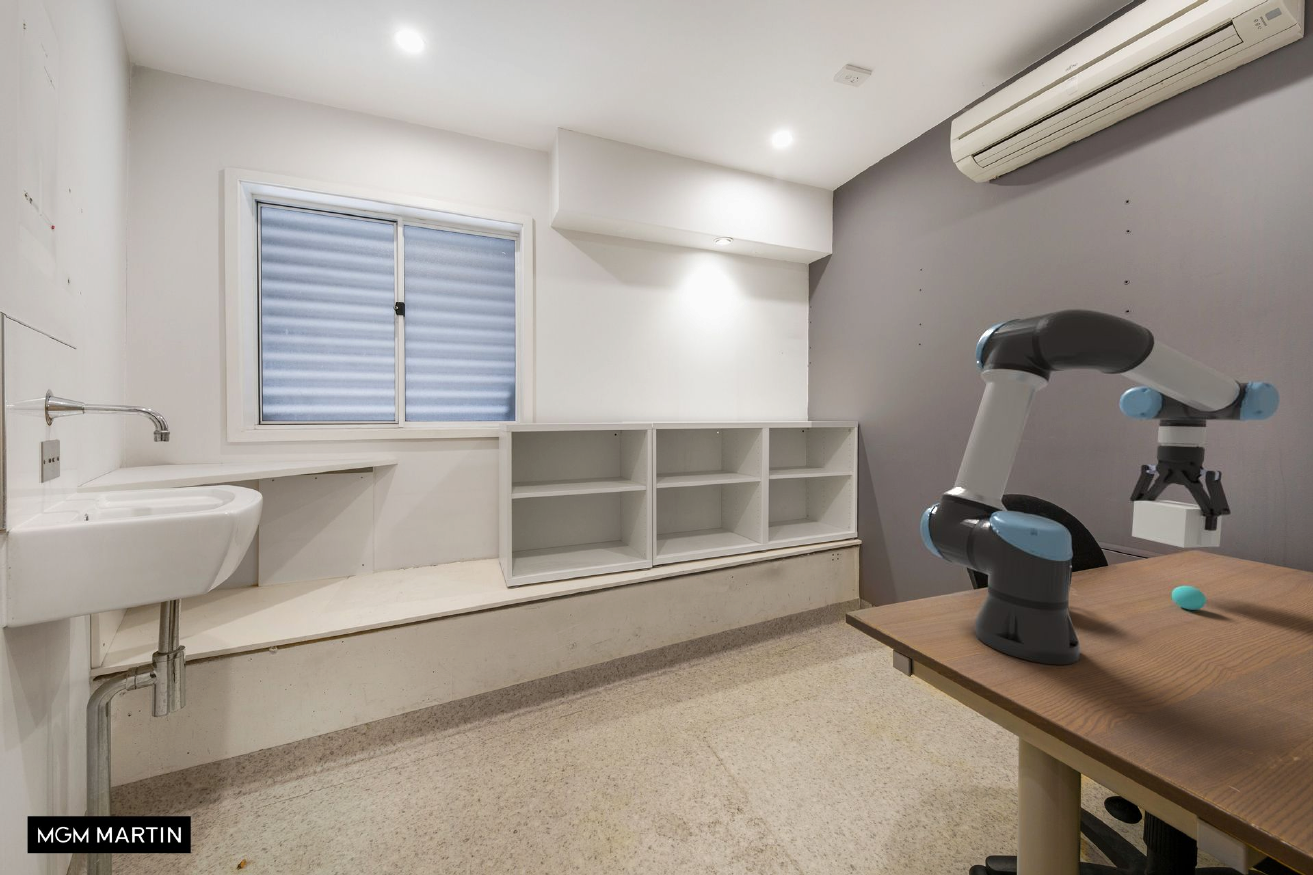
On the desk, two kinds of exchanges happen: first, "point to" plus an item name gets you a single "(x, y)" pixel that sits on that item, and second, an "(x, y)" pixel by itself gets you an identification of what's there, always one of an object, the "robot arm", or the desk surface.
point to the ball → (1188, 597)
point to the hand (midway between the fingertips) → (1174, 537)
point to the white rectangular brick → (1171, 523)
